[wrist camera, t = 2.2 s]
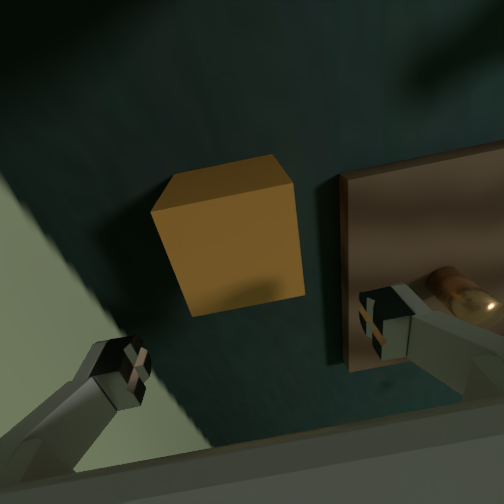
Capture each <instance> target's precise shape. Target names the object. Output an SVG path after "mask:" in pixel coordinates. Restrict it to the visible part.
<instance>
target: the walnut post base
mask: <svg viewBox="0 0 504 504" xmlns="http://www.w3.org/2000/svg"><path fill="white" fill-rule="evenodd" d="M339 190H340V238H341V287H342V335H343V360H344V362H345V365H346V367H347V369H348V371H349V372H354V371H360V370H365V369H370V368H376V367H381V366H386V365H392V364H397V363H402V362H408V361H411V360H409V359H408V358H407V357H402V358H396V359H389V360H383V361H381V359H380V358H379V356H378V354H377V353H376V351H375V349H374V348H373V346H372V338H370V337H368V336H366V334H365V332H364V331H363V328H362V326H361V323H360V319H359V309H360V308H361V306H362V304H361V303H360V301H359V293H360V291H364V290H369V289H374V288H379V287H384V286H388V285H392V284H397V283H401V282H403V283H405V284H406V285H407V286H408V287H409V288H410V289H411V290H412V291H413V292H414V293H415V294H416V295H417V296H418V297H419V298H420V299H421V300H422V301H423V302H424V303H425V304H426V305H427V306H428V307H429V308H430V309H431V310H432V311H433V312H435V311H439V312H442V313H444V314H447V315H449V316H452V317H455V318H457V319H460V320H462V321H465V322H468V323H470V324H473V325H475V326H478V327H480V328H483V329H486V330H488V331H491V332H493V333H496V334H499V335H501V336H504V140H501V141H496V142H491V143H486V144H481V145H477V146H472V147H467V148H462V149H457V150H452V151H447V152H442V153H437V154H433V155H428V156H423V157H418V158H413V159H408V160H403V161H398V162H393V163H389V164H384V165H379V166H374V167H369V168H364V169H359V170H354V171H350V172H345V173H340V174H339Z"/></svg>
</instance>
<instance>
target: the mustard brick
mask: <svg viewBox="0 0 504 504" xmlns="http://www.w3.org/2000/svg"><path fill="white" fill-rule="evenodd" d="M151 215H152V217H153V220H154V222H155V225H156V227H157V230H158V232H159V235H160V237H161V240H162V242H163V245H164V247H165V250H166V252H167V255H168V257H169V260H170V262H171V265H172V267H173V270H174V272H175V275H176V277H177V280H178V282H179V285H180V287H181V290H182V292H183V295H184V297H185V300H186V302H187V305H188V307H189V310H190V312H191V315H192V317H195V316H200V315H205V314H210V313H215V312H220V311H225V310H231V309H236V308H241V307H246V306H251V305H256V304H261V303H267V302H272V301H277V300H282V299H287V298H292V297H297V296H302V295H305V289H304V280H303V271H302V261H301V252H300V243H299V234H298V224H297V215H296V206H295V197H294V188H293V182H292V181H291V179H290V178H289V177H288V175H287V174H286V173H285V171H284V170H283V168H282V167H281V166H280V164H279V163H278V161H277V160H276V159H275V157H274V156H273V155H272V154H270V155H265V156H260V157H256V158H251V159H246V160H241V161H236V162H231V163H227V164H222V165H217V166H212V167H207V168H203V169H198V170H193V171H188V172H183V173H178V174H174V175H173V177H172V178H171V180H170V182H169V183H168V185H167V186H166V188H165V190H164V191H163V193H162V194H161V196H160V198H159V199H158V201H157V202H156V204H155V205H154V207H153V209H152V210H151Z"/></svg>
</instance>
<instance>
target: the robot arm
mask: <svg viewBox="0 0 504 504" xmlns="http://www.w3.org/2000/svg"><path fill="white" fill-rule="evenodd" d="M359 301H360V303H361V304H362V306H361V308H360V309H359V319H360V323H361V326H362V328H363V331H364V332H365V334H366V336H368V337H370V338H372V346H373V348H374V349H375V351H376V353H377V354H378V356H379V358H380V359H381V361H383V360H389V359H396V358H402V357H407V358H408V359H409V360H411V361H412V362H414V363H415V364H417V365H418V366H420V367H421V368H423V369H424V370H426V371H427V372H429V373H430V374H432V375H433V376H435V377H436V378H438V379H439V380H440V381H442V382H443V383H445V384H446V385H448V386H449V387H451V388H452V389H454V390H455V391H457V392H458V393H460V394H461V395H463V397H462V401H461V403H457V404H451V405H446V406H440V407H435V408H429V409H424V410H418V411H413V412H407V413H402V414H396V415H391V416H385V417H380V418H374V419H369V420H363V421H358V422H352V423H347V424H341V425H336V426H331V427H325V428H320V429H314V430H309V431H303V432H298V433H292V434H287V435H281V436H276V437H270V438H265V439H259V440H254V441H248V442H243V443H237V444H232V445H226V446H221V447H215V448H210V449H204V450H199V451H193V452H188V453H182V454H177V455H171V456H166V457H160V458H155V459H149V460H144V461H138V462H133V463H127V464H122V465H116V466H111V467H106V468H100V469H94V470H88V471H83V472H77V473H76V472H75V471H74V470H73V468H74V467H75V466H76V464H77V463H78V462H79V461H80V459H81V458H82V456H83V455H84V454H85V453H86V451H87V450H88V449H89V448H90V446H91V445H92V444H93V443H94V441H95V440H96V439H97V437H98V436H99V435H100V433H101V432H102V431H103V430H104V428H105V427H106V426H107V425H108V423H109V422H110V421H111V420H112V418H113V417H114V416H115V414H116V413H117V411H119V410H124V409H129V408H133V407H137V406H141V403H142V400H143V397H144V393H145V390H146V387H145V385H144V382H145V381H146V380H147V379H148V378H149V377H150V373H151V358H150V354H149V353H148V351H147V350H145V349H144V348H142V347H141V346H142V344H143V341H142V340H141V338H140V336H138V335H133V336H127V337H121V338H115V339H110V340H105V341H99V342H96V343H95V344H93V345H92V347H91V349H90V351H89V352H88V354H87V356H86V358H85V360H84V361H83V363H82V365H81V366H80V368H79V370H78V372H77V373H76V375H75V377H74V379H73V380H72V381H69V382H67V383H66V384H64V386H62V387H61V388H60V389H59V390H58V391H56V392H55V393H54V394H53V395H51V396H50V397H49V398H48V399H47V400H45V401H44V402H43V403H42V404H41V405H39V406H38V407H37V408H36V409H35V410H33V411H32V412H31V413H30V414H29V415H28V416H26V417H25V418H24V419H23V420H22V421H21V422H19V423H18V424H17V425H16V426H14V427H13V428H12V429H11V430H10V431H9V432H7V433H6V434H5V435H4V436H3V437H1V438H0V504H504V336H501V335H499V334H496V333H493V332H491V331H488V330H486V329H483V328H480V327H478V326H475V325H473V324H470V323H468V322H465V321H462V320H460V319H457V318H455V317H452V316H449V315H447V314H444V313H442V312H439V311H435V312H433V311H432V310H431V309H430V308H429V307H428V306H427V305H426V304H425V303H424V302H423V301H422V300H421V299H420V298H419V297H418V296H417V295H416V294H415V293H414V292H413V291H412V290H411V289H410V288H409V287H408V286H407V285H406V284H405V283H403V282H401V283H397V284H392V285H388V286H384V287H379V288H374V289H369V290H364V291H360V293H359Z"/></svg>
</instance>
